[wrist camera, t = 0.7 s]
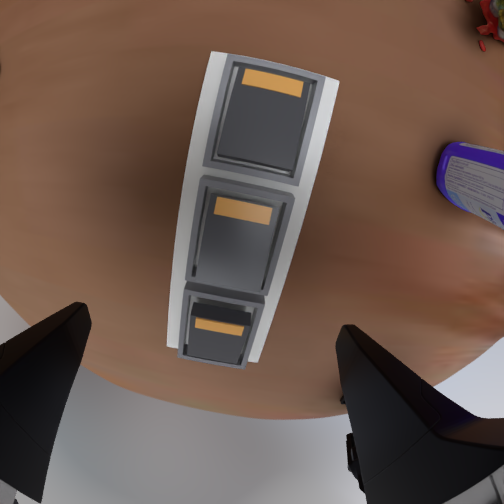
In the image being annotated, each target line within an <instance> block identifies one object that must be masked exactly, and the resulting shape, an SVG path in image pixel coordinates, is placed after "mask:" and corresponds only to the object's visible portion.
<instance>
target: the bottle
mask: <svg viewBox="0 0 504 504" xmlns="http://www.w3.org/2000/svg"><path fill="white" fill-rule="evenodd" d="M436 179H437V182H436V183H437V186H438V188H439V190H440V191H441V193H442V194H443V195H444V196H445V197H446V198H447V199H448V200H449V201H450V202H451V203H453V204H454V205H456V206H457V207H459V208H461V209H463V210H465V211H467V212H471V213H473V214H475V215H477V216H479V217H481V218H484V219H485V220H487V221H489V222H491V223H493V224H495V225H496V226H498V227H500V228H502V229H503V230H504V151H501V150H497V149H492V148H488V147H483V146H479V145H474V144H469V143H466V142H454V143H451V144H449V145H448V146H447V147H446V148H445V149H444V151H443V153H442V155H441V158H440V162H439V165H438V168H437V176H436Z"/></svg>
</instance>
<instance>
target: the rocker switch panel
mask: <svg viewBox="0 0 504 504" xmlns="http://www.w3.org/2000/svg"><path fill="white" fill-rule="evenodd" d="M239 67H245V68H250V69H255V70H260V71H265V72H269V73H274V74H278V75H282V76H286V77H290V78H294V79H298V80H301V81H305V82H308V83H310V89H309V94H308V99H307V104H306V109H305V114H304V119H303V124H302V129H301V134H300V139H299V144H298V148H297V153H296V158H295V163H294V167H293V170H292V171H289V172H287V171H283V170H279V169H275V168H270V167H266V166H262V165H257V164H252V163H248V162H243V161H238V160H233V159H228V158H223V157H218V155H217V150H218V146H219V141H220V137H221V133H222V129H223V125H224V121H225V117H226V113H227V109H228V105H229V101H230V97H231V93H232V89H233V86H234V82H235V78H236V75H237V71H238V68H239ZM338 86H339V81H338V80H335V79H332V78H329V77H326V76H323V75H319V74H316V73H313V72H310V71H306V70H303V69H299V68H295V67H291V66H288V65H284V64H279V63H275V62H271V61H266V60H261V59H257V58H251V57H246V56H240V55H234V54H228V53H221V52H213V51H211V55H210V59H209V62H208V66H207V70H206V74H205V78H204V82H203V86H202V90H201V95H200V99H199V103H198V108H197V112H196V117H195V122H194V127H193V132H192V137H191V142H190V147H189V152H188V158H187V163H186V169H185V175H184V181H183V187H182V194H181V201H180V208H179V215H178V222H177V230H176V238H175V247H174V256H173V265H172V276H171V287H170V300H169V314H168V331H167V346H168V347H173V348H177V349H178V356H177V357H178V358H183V359H188V360H193V361H198V362H203V363H209V364H214V365H220V366H226V367H232V368H239V369H245V367H246V364H247V361H249V362H257V363H258V360H259V357H260V354H261V352H262V349H263V346H264V343H265V340H266V337H267V334H268V331H269V328H270V325H271V322H272V319H273V316H274V313H275V310H276V307H277V304H278V301H279V298H280V295H281V292H282V289H283V286H284V282H285V279H286V276H287V273H288V270H289V266H290V263H291V260H292V257H293V253H294V250H295V247H296V244H297V240H298V237H299V234H300V230H301V227H302V223H303V220H304V216H305V213H306V210H307V206H308V202H309V199H310V195H311V192H312V188H313V185H314V181H315V177H316V174H317V170H318V166H319V162H320V159H321V155H322V151H323V147H324V143H325V139H326V135H327V132H328V128H329V124H330V119H331V115H332V111H333V107H334V103H335V99H336V94H337V90H338ZM211 194H217V195H222V196H227V197H232V198H237V199H242V200H247V201H251V202H256V203H261V204H265V205H270V206H275V207H278V208H279V212H278V216H277V221H276V225H275V230H274V234H273V239H272V243H271V248H270V252H269V256H268V261H267V265H266V269H265V274H264V278H263V282H262V286H261V291H260V293H259V292H254V291H248V290H243V289H238V288H232V287H227V286H222V285H217V284H212V283H207V282H202V281H197V280H195V276H196V270H197V264H198V259H199V253H200V247H201V242H202V236H203V231H204V226H205V220H206V215H207V210H208V205H209V200H210V195H211ZM193 302H197V303H202V304H207V305H212V306H217V307H223V308H228V309H233V310H239V311H245V312H250V313H251V326H250V329H249V332H248V335H247V337H246V340H245V343H244V346H243V349H242V351H241V354H240V357H239V359H238V362H237V364H234V363H227V362H221V361H216V360H210V359H205V358H199V357H194V356H189V355H187V351H188V337H189V324H190V314H191V310H192V306H193Z"/></svg>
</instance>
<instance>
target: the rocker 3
mask: <svg viewBox="0 0 504 504" xmlns="http://www.w3.org/2000/svg"><path fill="white" fill-rule="evenodd" d="M250 326H251V313H250V312H245V311H239V310H233V309H228V308H223V307H217V306H212V305H207V304H202V303H197V302H193V306H192V310H191V314H190V324H189V337H188V351H187V355H189V356H194V357H199V358H205V359H210V360H216V361H221V362H227V363H234V364H237V362H238V359H239V357H240V354H241V351H242V349H243V346H244V343H245V340H246V337H247V335H248V332H249V329H250Z"/></svg>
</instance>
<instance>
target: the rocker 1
mask: <svg viewBox="0 0 504 504" xmlns="http://www.w3.org/2000/svg"><path fill="white" fill-rule="evenodd" d="M309 89H310V83H308V82H305V81H301V80H298V79H294V78H290V77H286V76H282V75H278V74H274V73H269V72H265V71H260V70H255V69H250V68H245V67H239V68H238V71H237V75H236V78H235V82H234V86H233V89H232V93H231V97H230V101H229V105H228V109H227V113H226V117H225V121H224V125H223V129H222V133H221V137H220V141H219V146H218V150H217V155H218V157H223V158H228V159H233V160H238V161H243V162H248V163H252V164H257V165H262V166H266V167H270V168H275V169H279V170H283V171H287V172H289V171H292V170H293V167H294V163H295V158H296V153H297V148H298V144H299V139H300V134H301V129H302V124H303V119H304V114H305V109H306V104H307V99H308V94H309Z"/></svg>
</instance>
